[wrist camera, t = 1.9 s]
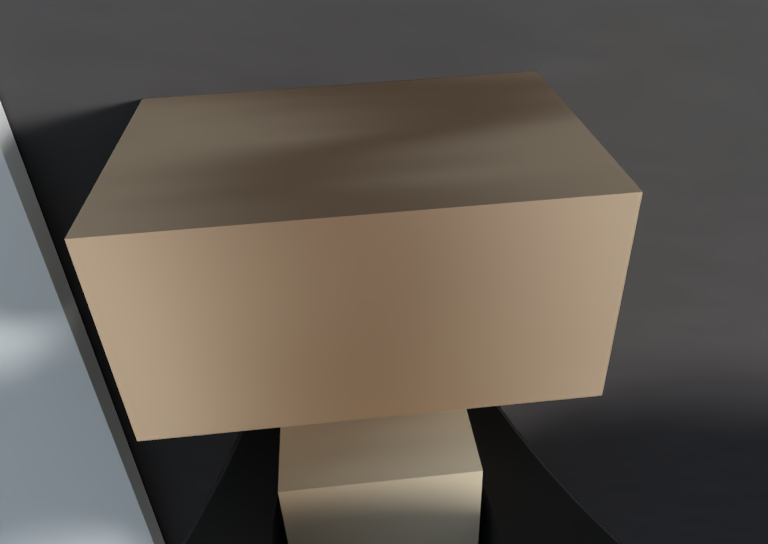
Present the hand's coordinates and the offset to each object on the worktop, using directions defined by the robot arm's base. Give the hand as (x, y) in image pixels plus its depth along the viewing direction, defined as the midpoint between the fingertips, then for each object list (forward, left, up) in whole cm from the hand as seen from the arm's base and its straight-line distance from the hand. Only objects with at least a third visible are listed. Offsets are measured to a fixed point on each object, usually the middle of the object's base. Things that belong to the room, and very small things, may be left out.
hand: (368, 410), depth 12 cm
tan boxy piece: (0, +1, -1) cm, 2 cm away
